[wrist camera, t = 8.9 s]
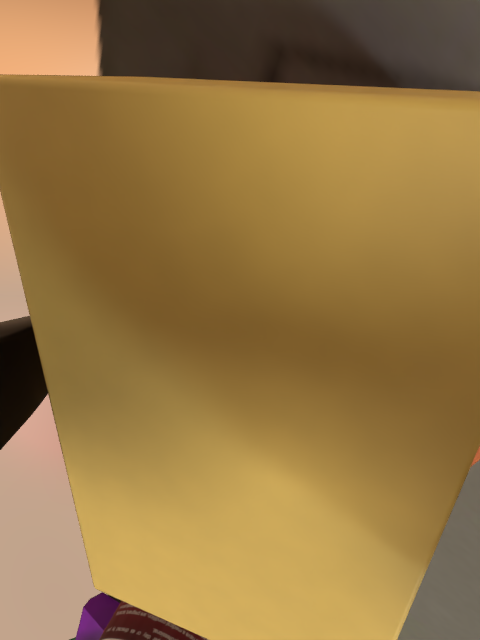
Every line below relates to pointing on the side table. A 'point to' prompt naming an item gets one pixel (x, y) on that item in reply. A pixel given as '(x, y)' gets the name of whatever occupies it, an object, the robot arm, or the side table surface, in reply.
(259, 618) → the packet
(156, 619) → the pill bottle
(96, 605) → the flower
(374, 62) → the side table surface
